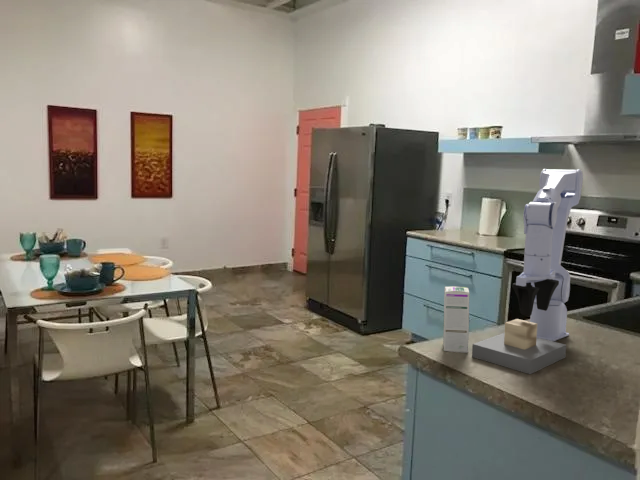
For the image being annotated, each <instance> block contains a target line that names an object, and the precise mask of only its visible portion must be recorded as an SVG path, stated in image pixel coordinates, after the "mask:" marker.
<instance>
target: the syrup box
mask: <svg viewBox="0 0 640 480" xmlns="http://www.w3.org/2000/svg"><path fill="white" fill-rule="evenodd" d="M469 331H470V290H469V287H466V286H458V285H457V286H453V285H452V286H444V295H443V332H442V333H443V335H442V340H443V341H442V342H443V343H442V344H443V345H442V346H443V349H442V350H443V351H445V352H450V353H465V354H466V353H468V352H469V336H470V335H469V334H470V333H469Z"/></svg>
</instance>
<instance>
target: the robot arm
mask: <svg viewBox="0 0 640 480" xmlns="http://www.w3.org/2000/svg"><path fill="white" fill-rule="evenodd" d="M583 183H584V174H583V171H582V169H580V168H577V169H551V168H550V169H549V168H548V169H547V168H543V169H542V170H541V171H540V174H539V184H538V185H539V190H538V191H537V193H536V195H535V196H534V198H533V200H532V201H530V202H529V203H526V204H525V205H524V207H523V208H524V209H523V217H522V218H523V233H524V234H525V240H524V241H525V242H524V254H523V255H524V257H523V271H522V272H521V273H520V274H519V275H517V276H516V279H515V282H514V283H512V290H513V291H514V292H515V295H516V298H517V301H518V307H519V310H520V315H522V316H526V317H530V319H529V322H533V323H537V338H541V339H545V340H549V341H553V342H557V341H558V340H561V339H563V338H565V337H568V336H569V335H570V333H569V332H566V331H567V321H568V320H567V318H568V309H567V306H566V305H565V303H566V302H568V301H569V297H570V293H571V292H570V291H571V274H570V273H569V271H568V270H567V269H566V268H564V267H563V266H562V265H561V264H562V259H563V251H564V245H565V240H566V239H565V238H566V232H567V225H568V220H569V215H570V213H571V209H572V208H573V207H575V206H577V205H579V203H580V200H581V196H582V188H583Z"/></svg>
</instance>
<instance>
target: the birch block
mask: <svg viewBox="0 0 640 480" xmlns="http://www.w3.org/2000/svg"><path fill="white" fill-rule="evenodd" d="M504 333H505V336H504V344H506V345H509V346H513V347H517V348H520V349H524V350H525V349H527V348H530V347H533V346H535V345H536V339H537V323H533V322H530V321H527V320H523V319H519V318H515V319H512V320H508V321H506V322H505V323H504Z"/></svg>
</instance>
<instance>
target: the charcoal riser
mask: <svg viewBox="0 0 640 480" xmlns="http://www.w3.org/2000/svg"><path fill="white" fill-rule="evenodd" d="M504 336H505V332H502V333H500V334H496V335H494V336H490V337H489V338H486V339H483V340H481V341H477V342H475V343H472V349H471V351H472V352H471V354H472V355H471V357H472V358H474V359H475V358H476V359H479V360H481V361H486V362H488V363H492V364H493V365H494V364H495V365H499V366H502V367H504V368H508V369H511V370H515V371H518V372H522V373H525V374H528V375H532V374H534V373H535V372H538V371H540V370H542V369H544V368H546V367H548V366H550V365H553V364H555V363H556V362H557V363H558V361H561V360H564V359H565V358H566V355H567V344H564V343H561V342H557V341H549V340H545V339H541V338H537V339H536V345H535V346H533V347H530V348H527V349H525V350H524V349H520V348H517V347H513V346H509V345H506V344H504Z"/></svg>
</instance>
